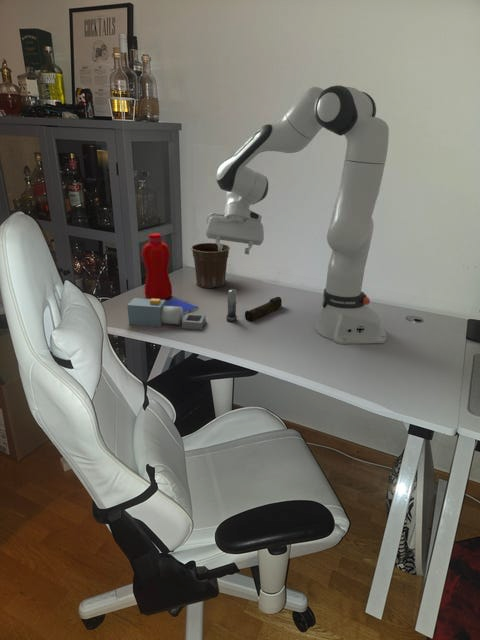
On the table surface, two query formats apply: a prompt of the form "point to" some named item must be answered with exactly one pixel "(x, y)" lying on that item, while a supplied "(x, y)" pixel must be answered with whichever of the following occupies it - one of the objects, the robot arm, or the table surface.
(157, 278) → the water bottle
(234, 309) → the grey peg
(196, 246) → the plant pot
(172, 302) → the hard drive
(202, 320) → the handheld vacuum
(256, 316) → the hand tool
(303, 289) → the table surface
